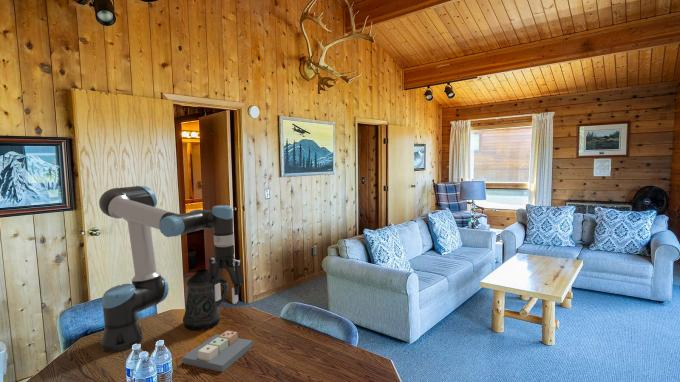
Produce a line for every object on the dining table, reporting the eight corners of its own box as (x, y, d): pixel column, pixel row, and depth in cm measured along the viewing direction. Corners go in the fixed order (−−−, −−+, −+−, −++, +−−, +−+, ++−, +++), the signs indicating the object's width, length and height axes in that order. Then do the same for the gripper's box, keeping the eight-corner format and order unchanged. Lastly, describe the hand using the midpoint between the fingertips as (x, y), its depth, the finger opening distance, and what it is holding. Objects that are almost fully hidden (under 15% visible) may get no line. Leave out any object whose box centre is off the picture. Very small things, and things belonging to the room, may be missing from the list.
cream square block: (198, 360, 136) (197, 350, 135) (207, 353, 140) (207, 344, 140) (209, 362, 134) (208, 352, 134) (218, 355, 139) (217, 346, 138)
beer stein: (177, 323, 171) (174, 271, 169) (217, 311, 184) (215, 262, 182) (191, 335, 159) (188, 279, 157) (233, 321, 172) (230, 269, 170)
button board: (182, 363, 137) (182, 357, 137) (216, 339, 155) (216, 334, 155) (222, 372, 131) (222, 365, 131) (252, 346, 149) (252, 340, 148)
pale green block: (209, 351, 141) (208, 342, 141) (217, 345, 146) (217, 336, 146) (220, 354, 140) (219, 344, 139) (228, 347, 144) (228, 338, 144)
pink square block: (219, 344, 147) (219, 335, 147) (227, 338, 152) (227, 330, 151) (230, 346, 145) (229, 337, 145) (237, 340, 150) (237, 331, 150)
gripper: (196, 245, 145) (199, 301, 147) (240, 248, 138) (242, 307, 140) (209, 241, 152) (212, 295, 154) (251, 244, 145) (254, 300, 147)
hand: (226, 301), depth 147 cm, fingers open, 8 cm apart
